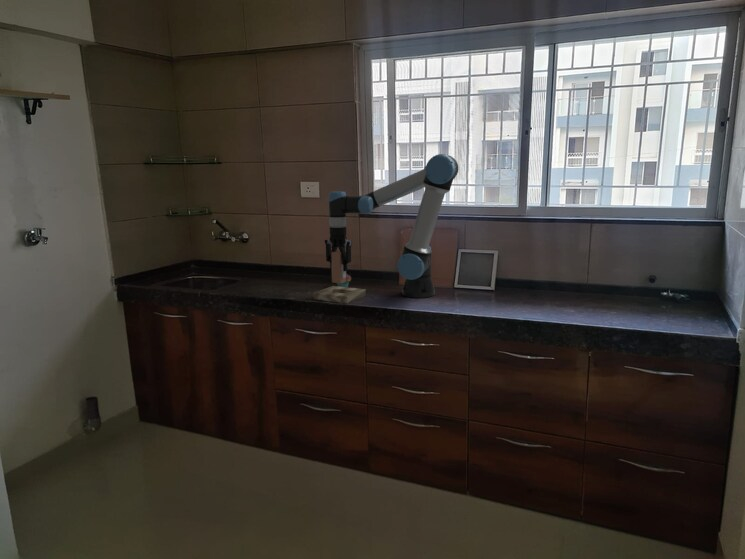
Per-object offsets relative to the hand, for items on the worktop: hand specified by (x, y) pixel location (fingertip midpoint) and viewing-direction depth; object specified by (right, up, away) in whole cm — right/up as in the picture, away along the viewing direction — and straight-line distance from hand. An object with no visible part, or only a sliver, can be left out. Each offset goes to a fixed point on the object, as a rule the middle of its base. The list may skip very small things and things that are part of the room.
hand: (338, 277), depth 239 cm
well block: (0, -9, +2) cm, 9 cm away
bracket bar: (0, -2, 0) cm, 2 cm away
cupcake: (0, -5, +22) cm, 23 cm away
